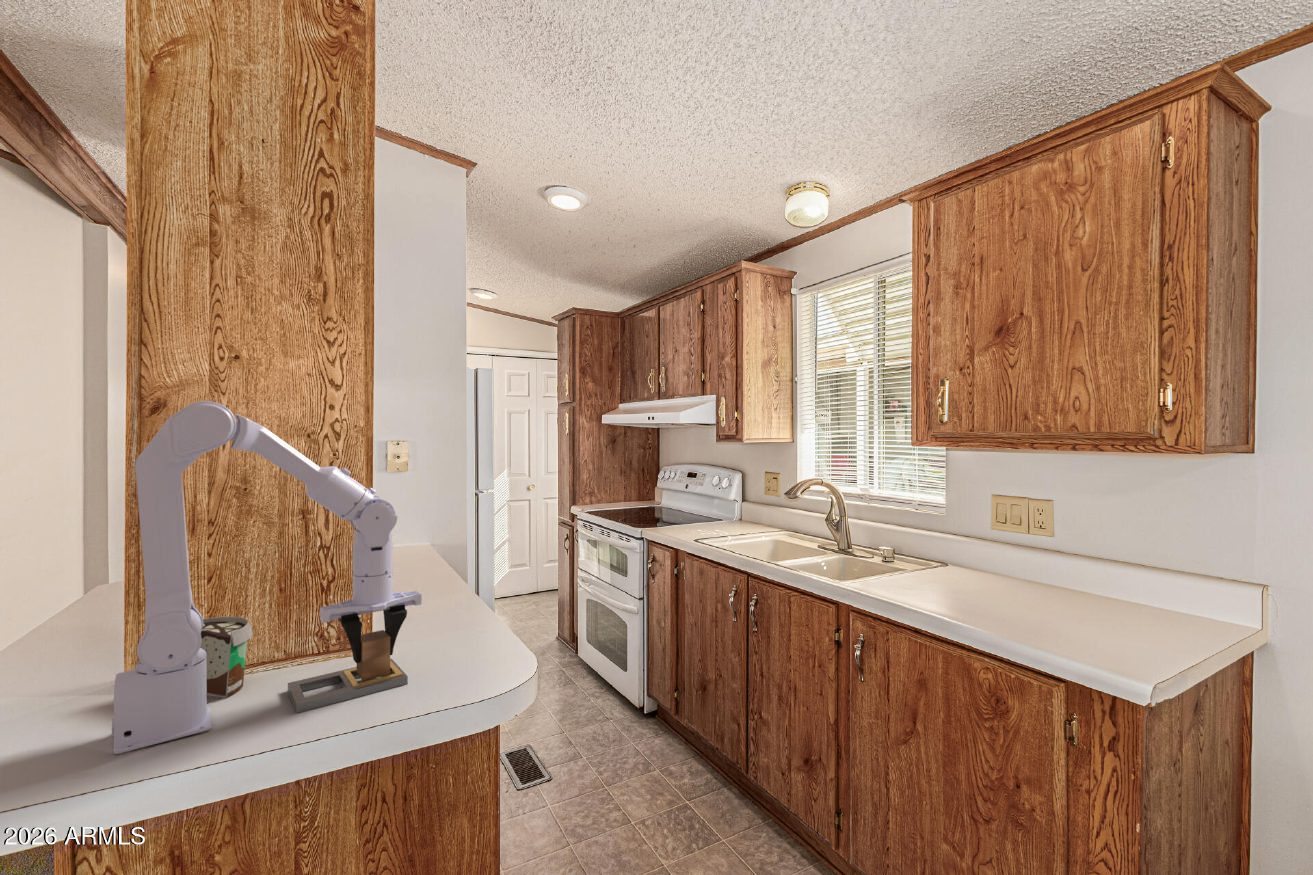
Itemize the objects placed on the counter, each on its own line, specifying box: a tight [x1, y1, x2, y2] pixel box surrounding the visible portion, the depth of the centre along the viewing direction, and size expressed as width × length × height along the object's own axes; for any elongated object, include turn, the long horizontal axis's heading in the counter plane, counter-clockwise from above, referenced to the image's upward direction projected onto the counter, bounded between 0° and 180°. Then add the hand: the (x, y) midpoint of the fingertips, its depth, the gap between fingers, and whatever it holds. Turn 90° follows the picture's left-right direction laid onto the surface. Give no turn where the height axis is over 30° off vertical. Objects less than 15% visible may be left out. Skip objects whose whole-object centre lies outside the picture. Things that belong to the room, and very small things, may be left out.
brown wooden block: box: [356, 629, 391, 682], centre depth 91 cm, size 4×4×6 cm
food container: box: [200, 616, 254, 699], centre depth 90 cm, size 12×6×10 cm, turn 74°
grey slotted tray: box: [287, 658, 409, 714], centre depth 89 cm, size 15×9×1 cm, turn 130°
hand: (373, 657), depth 91 cm, fingers closed on brown wooden block, 4 cm apart
